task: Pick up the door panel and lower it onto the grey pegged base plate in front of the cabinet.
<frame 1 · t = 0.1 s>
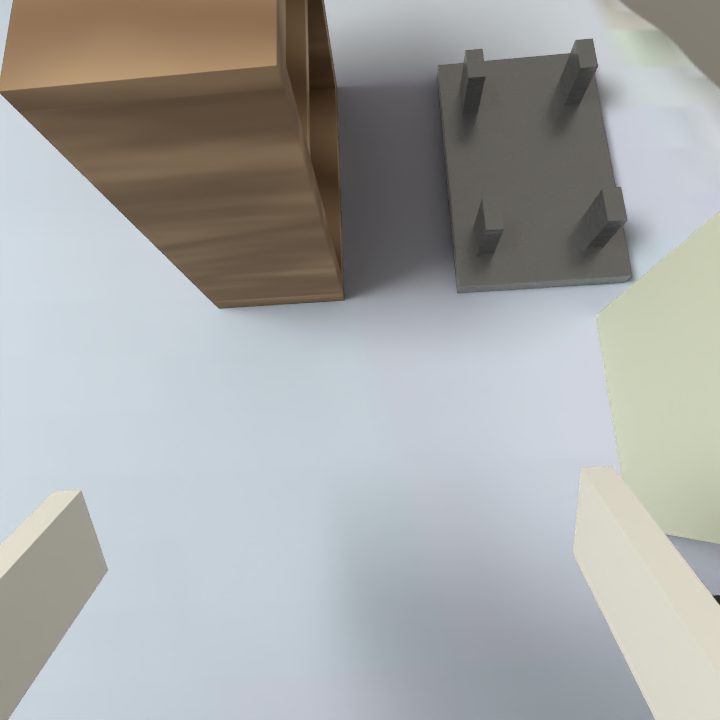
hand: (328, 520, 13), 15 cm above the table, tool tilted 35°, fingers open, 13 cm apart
grey pegged base plate: (524, 172, 32), on the table
cabinet: (280, 191, 33), on the table
door panel: (648, 414, 28), on the table
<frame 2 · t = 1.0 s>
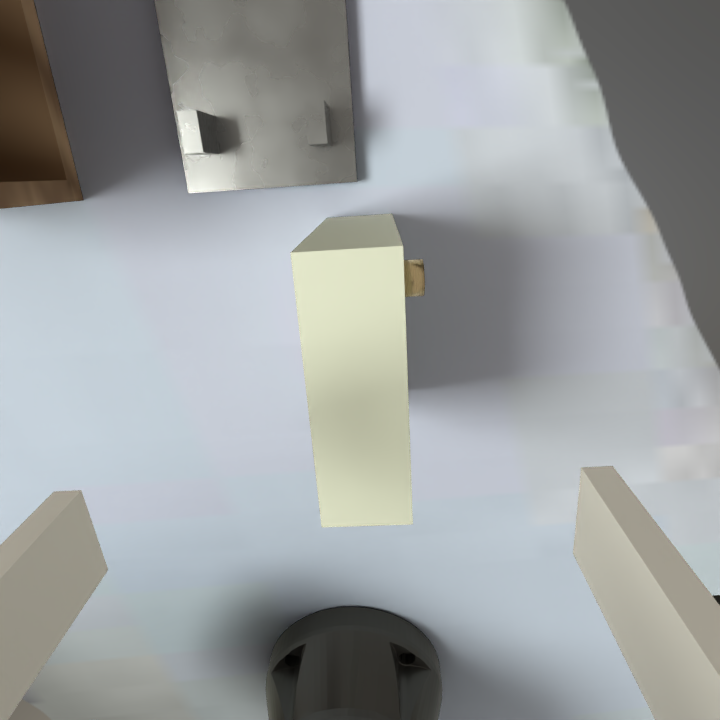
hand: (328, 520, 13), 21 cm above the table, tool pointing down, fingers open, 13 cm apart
grey pegged base plate: (256, 33, 27), on the table
door panel: (365, 310, 33), on the table
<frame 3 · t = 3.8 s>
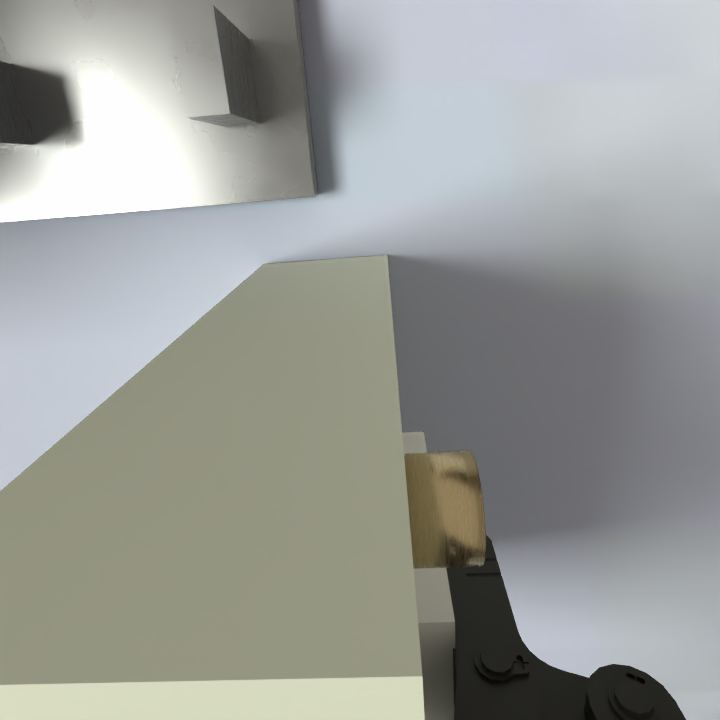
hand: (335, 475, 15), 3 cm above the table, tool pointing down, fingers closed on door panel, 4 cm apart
door panel: (342, 424, 18), on the table, touching gripper
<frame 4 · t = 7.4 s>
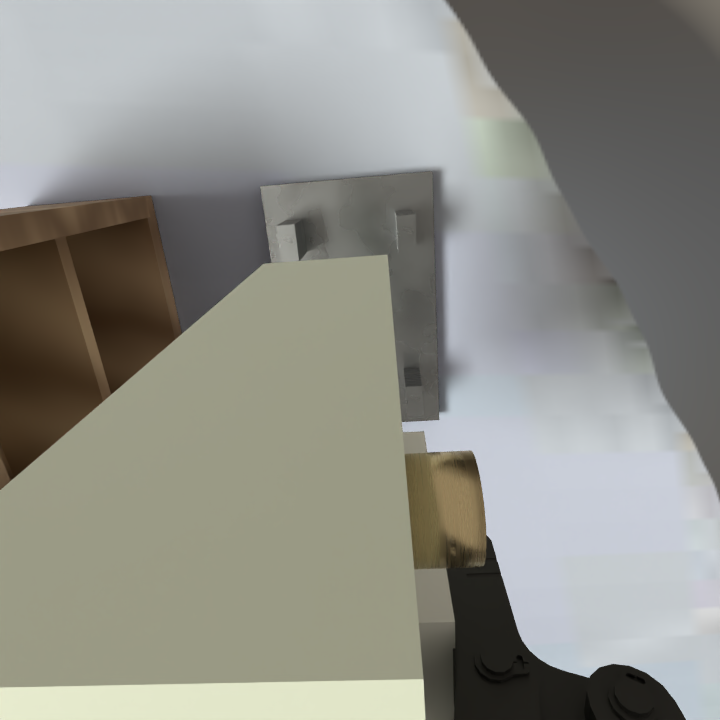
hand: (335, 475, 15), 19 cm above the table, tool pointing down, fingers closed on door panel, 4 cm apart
grey pegged base plate: (357, 308, 33), on the table
cabinet: (121, 324, 34), on the table
door panel: (342, 424, 18), point 16 cm above the table, touching gripper
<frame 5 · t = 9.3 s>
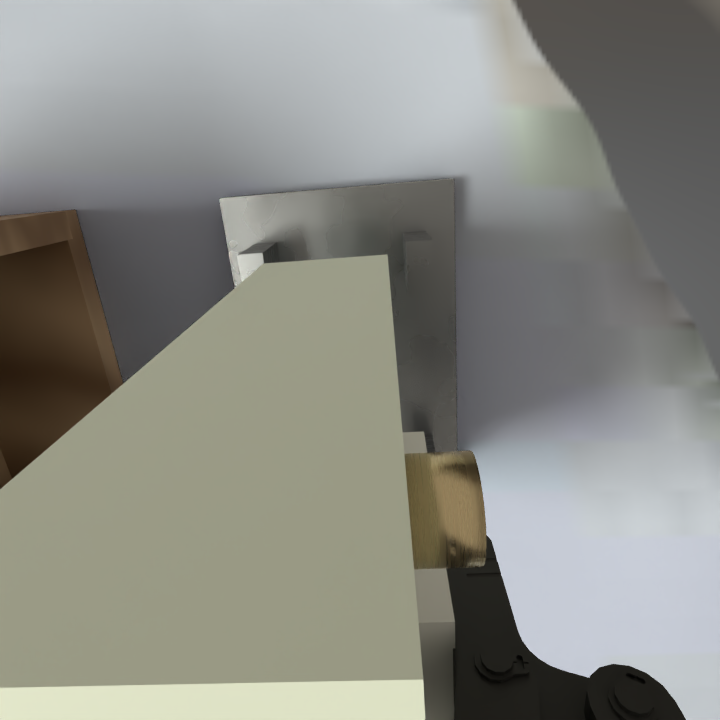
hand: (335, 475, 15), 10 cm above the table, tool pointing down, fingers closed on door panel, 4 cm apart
grey pegged base plate: (352, 356, 25), on the table
cabinet: (45, 375, 26), on the table
door panel: (342, 424, 18), point 7 cm above the table, touching gripper
when the fingers open (6 cm above the table, at t = 11.1 s): door panel drops 1 cm, resting on grey pegged base plate.
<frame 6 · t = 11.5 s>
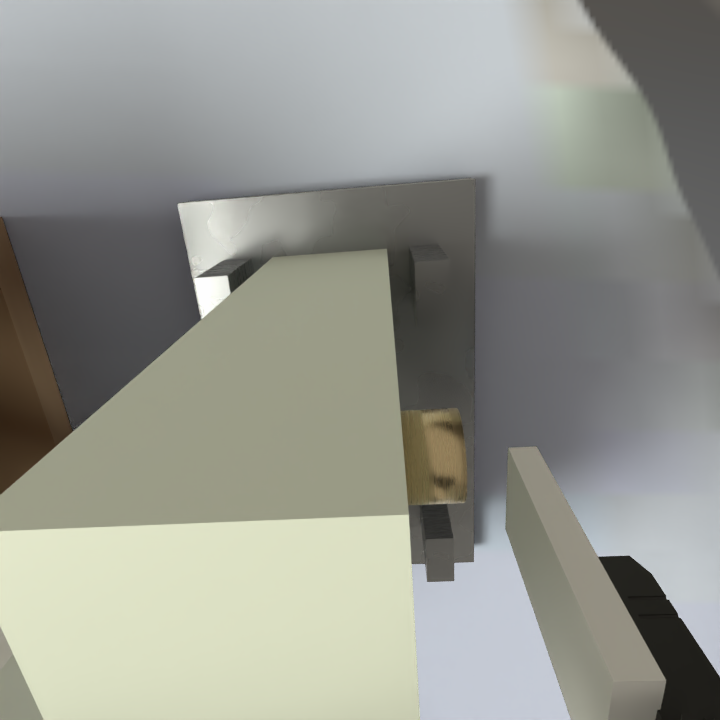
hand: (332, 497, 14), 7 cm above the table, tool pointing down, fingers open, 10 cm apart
grey pegged base plate: (346, 395, 20), on the table
door panel: (345, 407, 19), point 1 cm above the table, touching grey pegged base plate
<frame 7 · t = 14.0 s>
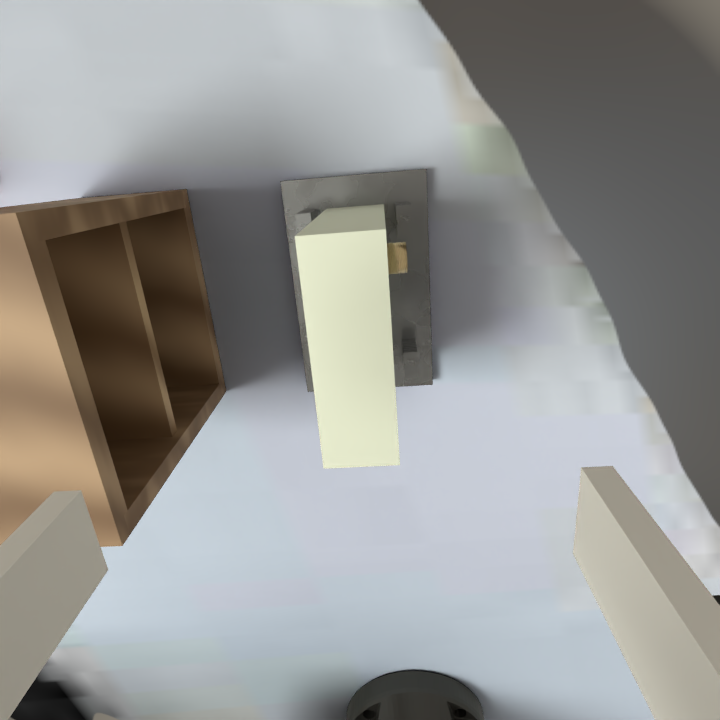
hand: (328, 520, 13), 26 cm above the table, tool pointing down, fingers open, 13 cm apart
grey pegged base plate: (362, 287, 38), on the table
cabinet: (157, 301, 39), on the table
door panel: (361, 290, 37), point 1 cm above the table, touching grey pegged base plate
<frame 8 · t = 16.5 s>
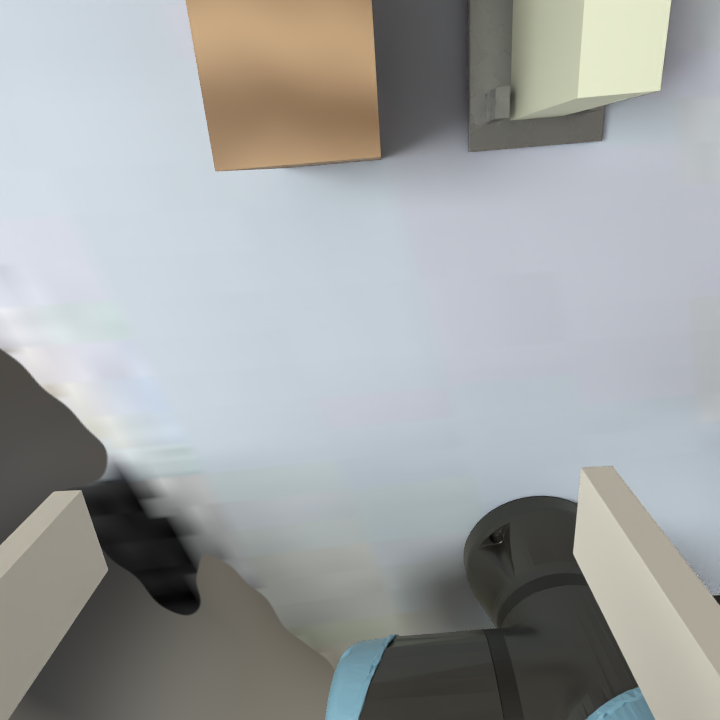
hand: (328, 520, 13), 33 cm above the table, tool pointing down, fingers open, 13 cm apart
grey pegged base plate: (536, 28, 37), on the table
cabinet: (320, 50, 38), on the table
door panel: (540, 25, 36), point 1 cm above the table, touching grey pegged base plate
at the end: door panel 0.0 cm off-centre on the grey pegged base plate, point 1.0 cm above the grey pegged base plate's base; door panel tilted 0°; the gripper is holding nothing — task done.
